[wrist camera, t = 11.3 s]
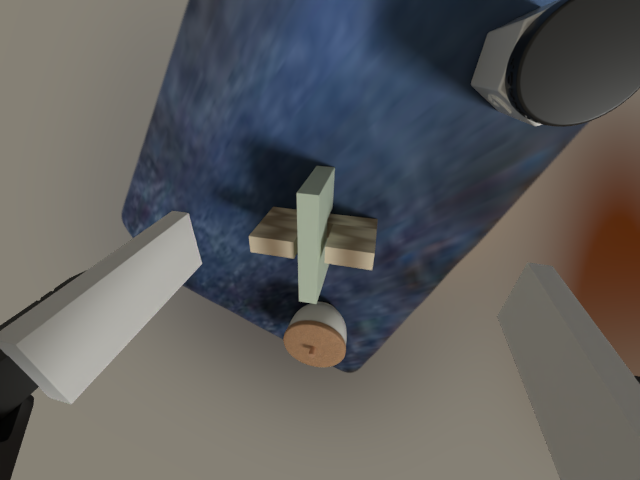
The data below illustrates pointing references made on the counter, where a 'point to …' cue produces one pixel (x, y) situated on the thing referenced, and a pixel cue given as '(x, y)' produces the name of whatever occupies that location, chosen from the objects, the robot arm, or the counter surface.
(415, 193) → the counter surface
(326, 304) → the lidded jar
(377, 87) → the counter surface
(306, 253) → the sage plate
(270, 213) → the beech u-shaped block
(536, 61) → the jar
